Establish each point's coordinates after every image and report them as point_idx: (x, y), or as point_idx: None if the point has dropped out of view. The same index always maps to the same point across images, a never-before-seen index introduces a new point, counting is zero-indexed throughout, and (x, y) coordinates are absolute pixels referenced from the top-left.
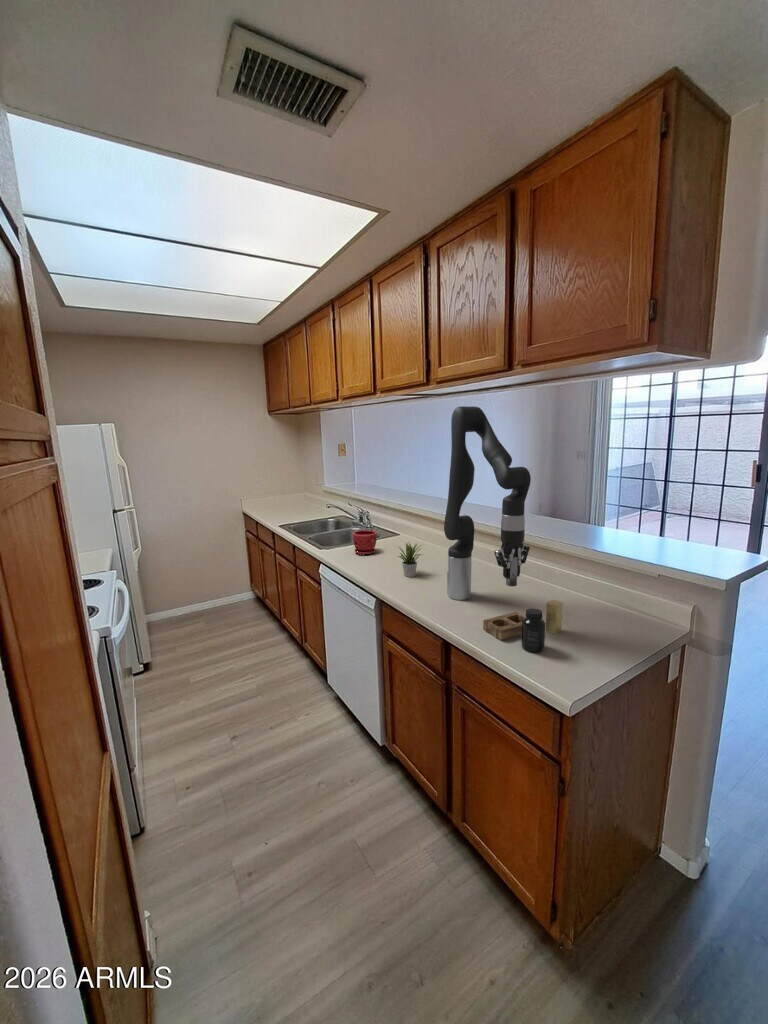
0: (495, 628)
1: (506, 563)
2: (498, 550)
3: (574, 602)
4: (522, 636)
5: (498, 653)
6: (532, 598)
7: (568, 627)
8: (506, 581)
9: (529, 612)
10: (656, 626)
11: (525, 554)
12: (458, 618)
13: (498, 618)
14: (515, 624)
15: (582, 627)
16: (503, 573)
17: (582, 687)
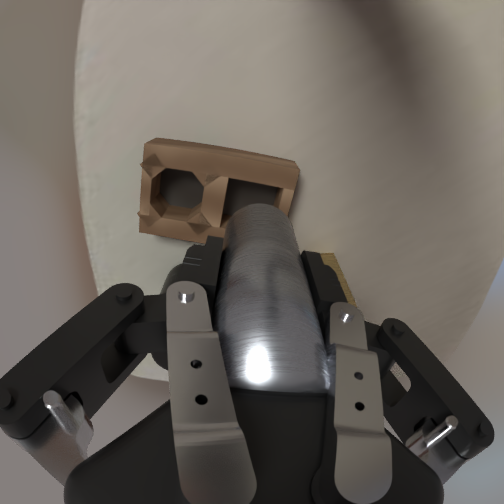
0: (141, 205)
1: (227, 307)
2: (24, 448)
3: (496, 213)
4: (161, 291)
5: (106, 252)
6: (473, 114)
7: (361, 277)
8: (226, 230)
9: (156, 355)
10: (444, 349)
11: (395, 425)
12: (152, 31)
13: (198, 166)
14: (208, 232)
15: (380, 294)
16: (184, 261)
17: (165, 375)
